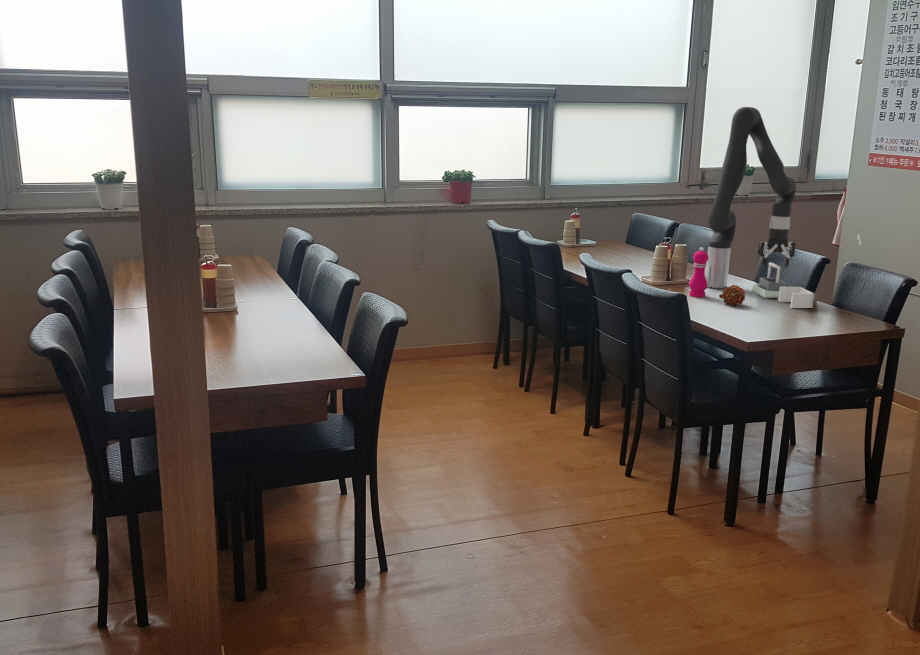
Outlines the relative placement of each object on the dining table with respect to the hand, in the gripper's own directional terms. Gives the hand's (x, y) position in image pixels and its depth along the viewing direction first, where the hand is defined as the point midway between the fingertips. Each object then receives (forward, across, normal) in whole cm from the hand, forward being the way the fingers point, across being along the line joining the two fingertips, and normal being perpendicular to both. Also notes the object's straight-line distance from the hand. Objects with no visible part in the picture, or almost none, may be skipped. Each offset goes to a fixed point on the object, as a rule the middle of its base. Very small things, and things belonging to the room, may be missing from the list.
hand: (774, 266), depth 327 cm
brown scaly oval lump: (+12, +23, +19) cm, 32 cm away
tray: (+12, 0, 0) cm, 12 cm away
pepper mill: (+12, +32, +4) cm, 34 cm away
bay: (+12, -2, +18) cm, 22 cm away
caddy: (+11, 0, 0) cm, 11 cm away
